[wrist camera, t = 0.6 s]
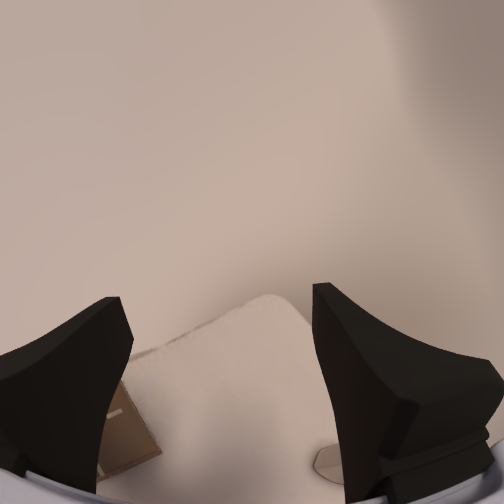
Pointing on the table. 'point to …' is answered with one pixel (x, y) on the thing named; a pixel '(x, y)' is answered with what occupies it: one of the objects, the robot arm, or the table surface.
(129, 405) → the dial panel
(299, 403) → the table surface
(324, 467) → the eye dropper bottle
